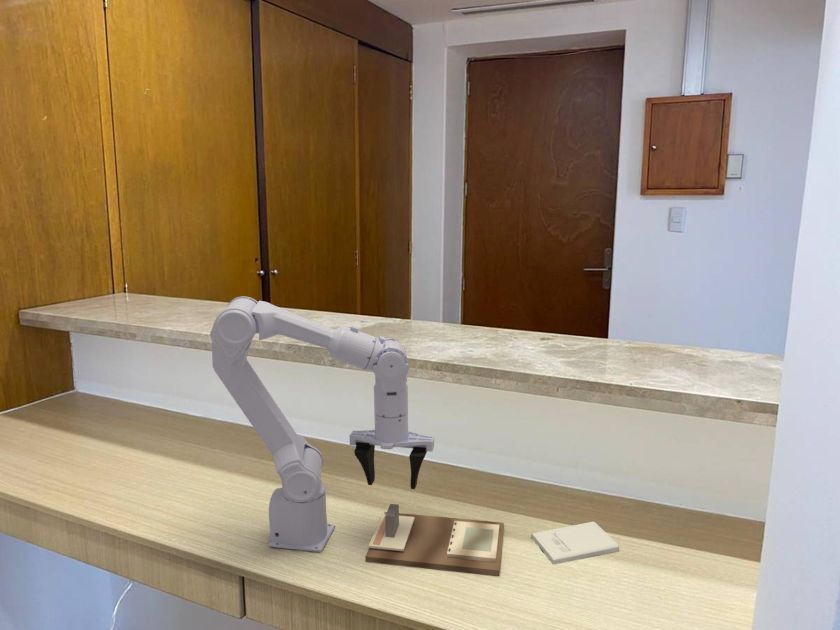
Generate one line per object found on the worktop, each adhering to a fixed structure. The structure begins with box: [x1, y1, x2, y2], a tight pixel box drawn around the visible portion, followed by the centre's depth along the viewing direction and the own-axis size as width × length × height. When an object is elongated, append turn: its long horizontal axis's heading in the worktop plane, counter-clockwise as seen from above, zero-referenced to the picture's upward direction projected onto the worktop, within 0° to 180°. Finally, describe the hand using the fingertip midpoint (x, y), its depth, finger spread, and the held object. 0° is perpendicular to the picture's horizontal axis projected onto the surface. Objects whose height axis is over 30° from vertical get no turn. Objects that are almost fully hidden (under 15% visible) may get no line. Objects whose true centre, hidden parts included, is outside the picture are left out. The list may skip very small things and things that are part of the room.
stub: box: [368, 503, 415, 551], centre depth 111 cm, size 6×10×4 cm, turn 170°
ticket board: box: [364, 511, 505, 577], centre depth 110 cm, size 22×14×2 cm, turn 80°
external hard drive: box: [530, 521, 620, 565], centre depth 110 cm, size 2×8×12 cm
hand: (392, 484), depth 111 cm, fingers open, 7 cm apart
